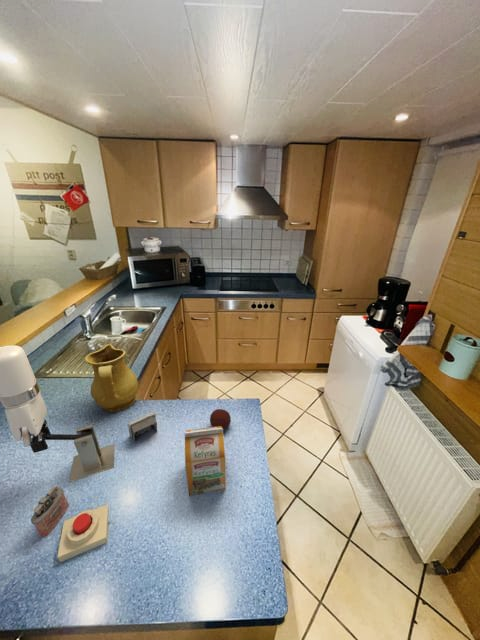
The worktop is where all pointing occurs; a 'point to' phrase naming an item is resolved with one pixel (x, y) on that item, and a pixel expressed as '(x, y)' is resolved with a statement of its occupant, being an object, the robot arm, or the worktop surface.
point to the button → (82, 523)
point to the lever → (62, 436)
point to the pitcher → (112, 379)
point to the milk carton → (205, 460)
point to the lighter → (50, 511)
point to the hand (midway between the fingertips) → (42, 443)
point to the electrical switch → (142, 425)
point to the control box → (84, 534)
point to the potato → (220, 418)
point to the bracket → (90, 455)
